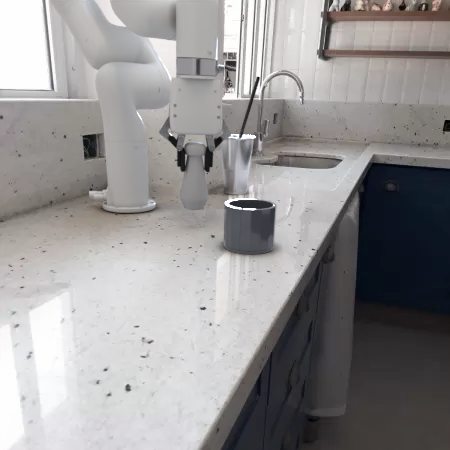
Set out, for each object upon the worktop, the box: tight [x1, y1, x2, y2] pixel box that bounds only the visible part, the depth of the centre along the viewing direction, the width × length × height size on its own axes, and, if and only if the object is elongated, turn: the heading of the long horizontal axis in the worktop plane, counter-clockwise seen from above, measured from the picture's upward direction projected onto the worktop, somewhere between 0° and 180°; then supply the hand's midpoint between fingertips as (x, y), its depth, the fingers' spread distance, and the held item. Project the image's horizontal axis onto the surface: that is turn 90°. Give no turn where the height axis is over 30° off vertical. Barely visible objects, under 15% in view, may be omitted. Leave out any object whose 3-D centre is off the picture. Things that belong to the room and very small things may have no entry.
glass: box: [220, 76, 261, 196], centre depth 131 cm, size 11×11×30 cm
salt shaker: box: [179, 141, 210, 211], centre depth 97 cm, size 6×6×13 cm
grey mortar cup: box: [223, 198, 278, 255], centre depth 88 cm, size 9×9×8 cm
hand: (194, 169), depth 97 cm, fingers closed on salt shaker, 4 cm apart
